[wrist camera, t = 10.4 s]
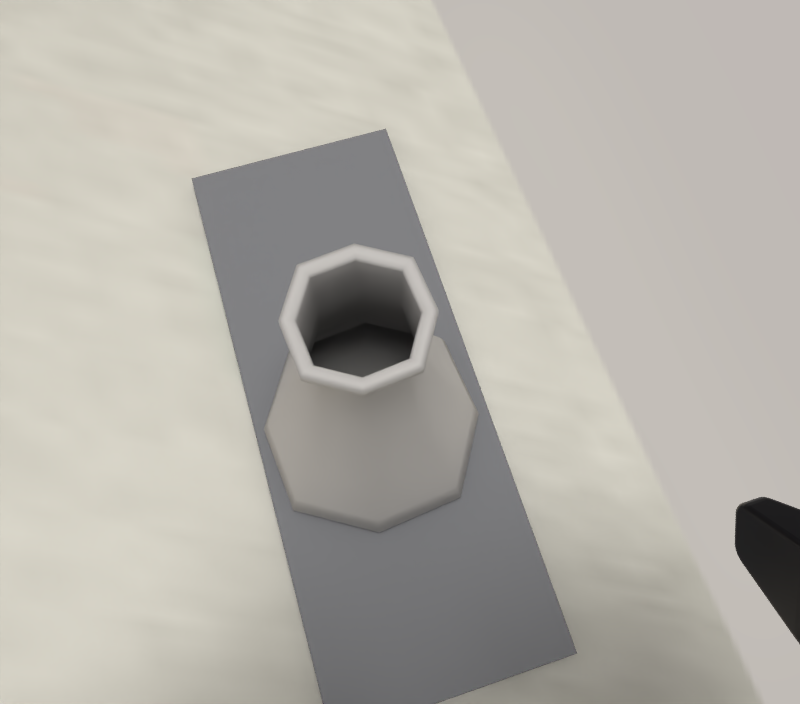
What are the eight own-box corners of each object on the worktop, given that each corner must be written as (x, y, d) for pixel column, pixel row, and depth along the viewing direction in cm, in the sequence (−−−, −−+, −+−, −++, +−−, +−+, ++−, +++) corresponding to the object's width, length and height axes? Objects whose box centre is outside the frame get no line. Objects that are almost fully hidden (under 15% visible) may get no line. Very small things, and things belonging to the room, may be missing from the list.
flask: (465, 317, 24) (515, 148, 15) (490, 524, 22) (567, 484, 12) (263, 331, 24) (179, 168, 14) (266, 542, 21) (169, 515, 12)
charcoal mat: (572, 651, 21) (577, 653, 21) (333, 736, 20) (332, 740, 20) (385, 136, 27) (385, 128, 27) (195, 185, 26) (191, 178, 26)
